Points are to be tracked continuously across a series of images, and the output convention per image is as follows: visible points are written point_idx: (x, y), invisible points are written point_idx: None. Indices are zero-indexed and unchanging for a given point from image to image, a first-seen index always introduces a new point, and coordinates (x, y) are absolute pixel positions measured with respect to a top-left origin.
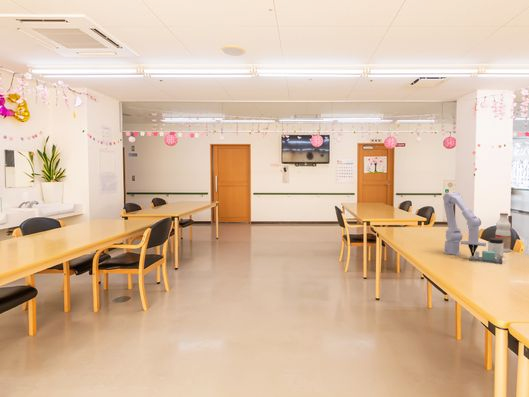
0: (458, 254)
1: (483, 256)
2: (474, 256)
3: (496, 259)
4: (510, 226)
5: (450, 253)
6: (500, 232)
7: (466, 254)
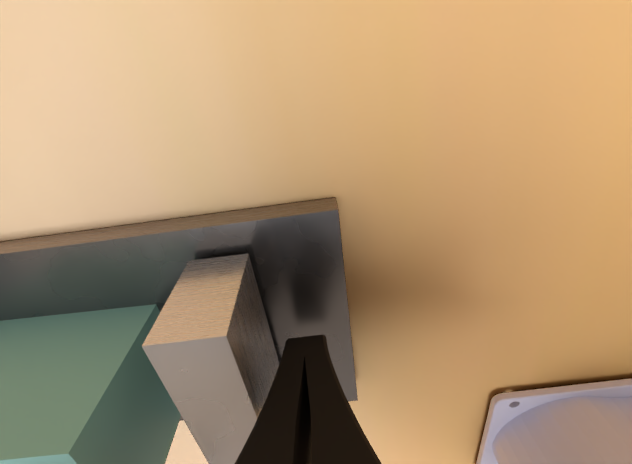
0: (505, 400)
1: (103, 353)
2: None
3: None
4: None
5: (604, 393)
6: None
7: (411, 457)
